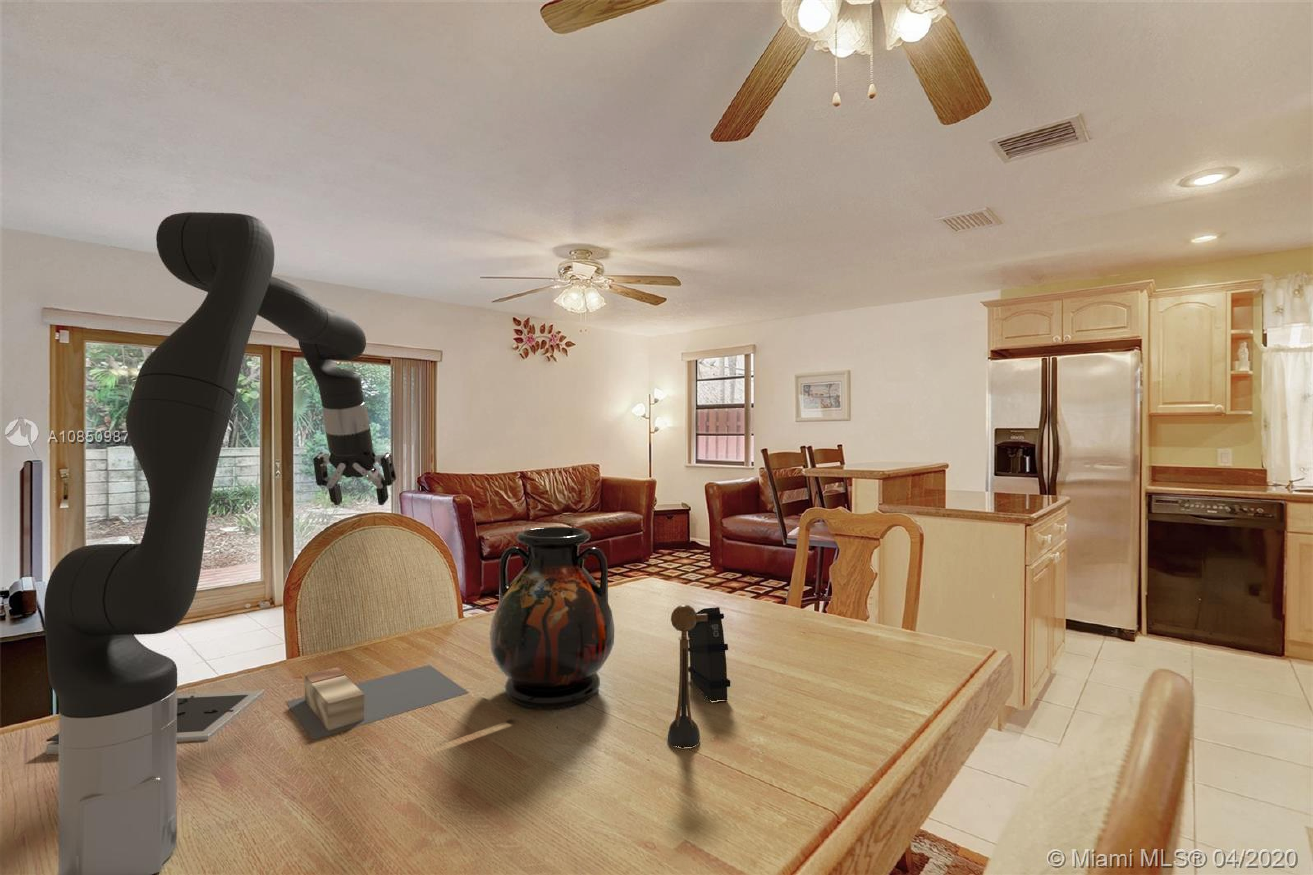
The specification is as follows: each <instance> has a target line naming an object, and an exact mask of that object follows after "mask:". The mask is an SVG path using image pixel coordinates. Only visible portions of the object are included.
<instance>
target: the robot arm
mask: <svg viewBox="0 0 1313 875" xmlns="http://www.w3.org/2000/svg"><path fill="white" fill-rule="evenodd" d="M155 237H156V238H155V240H156V249H157V252H158V256H159V258H160V260H161V262H162V263H163V265H164V266H165V268H166V270H167V271H168V272H169V273H170V274H172V275H173V276H174V277H175V279H177V280H178V281H181V282H183V283H185V284H187V285H189V286H191V287H193V288H196V289H197V290H198V289H199V290H201V291H204V292H206V293H207V295H206V296H205V298H204V300H203V302H202V303H201V305H200V306H199V308H197V310H196V311H195V312H194V313H193V314H192V315H191V316H190V317H189V318H188V319H187V320H186V321H185V322H184V323H182V325H180V326H179V327H178V328H177V329H176V330H174V331H173V332H172V333H171V334H170V335H168V336H167V337H166V338H165V339H164V340H163V341H162V342H161V343H160V344H159V345H158V346H157V347H156V348H155V349H154V350H153V351H152V352H150V354H149V355H148V357H147V358H146V359H145V360H144V361H143V363H142V365H141V367H140V368H139V372H138V375H137V377H136V380H135V383H134V387H133V390H132V394H131V397H130V400H129V404H128V406H127V410H126V416H125V429H126V433H127V437H128V439H129V442H130V445H131V447H132V450H133V452H134V454H135V456H136V459H137V461H138V463H139V466H140V467H141V470H142V472H143V474H144V477H145V480H146V482H147V483H146V484H147V487H148V493H149V506H148V513H147V518H146V524H145V527H144V531H143V535H142V537H141V541H140V543H100V544H99V543H97V544H89V545H85V546H80V547H78V548H76V549H73V550H72V551H70V552H69V553H67V554H65V556H64V557H62V558H61V559H60V560H59V561H58V563H57V564H56V566H55V567H54V568H53V571H52V572H51V574H50V575H49V576H50V577H49V579H48V581H47V584H46V589H45V594H44V595H45V596H44V601H43V602H44V604H43V606H44V607H43V616H44V632H45V633H44V635H45V643H46V644H45V645H46V662H47V675H48V680H49V684H50V686H51V688H52V690H53V692H54V693H55V695H56V697H57V698H58V699H57V700H58V733H59V755H58V782H57V783H58V787H57V788H58V792H57V793H58V794H57V795H58V796H57V797H58V801H57V802H58V808H57V809H58V811H57V812H58V813H57V814H58V815H57V816H58V818H57V819H58V821H57V822H58V825H57V826H58V827H57V831H58V833H57V837H58V838H57V844H58V847H57V848H58V861H57V862H58V870H57V871H58V872H57V873H58V875H154V874H157V873H159V872H161V871H163V864H164V863H165V862H166V861H167V860H168V859H169V858H170V857H171V856H172V855H173V854H174V852H175V850H176V848H177V844H178V841H177V840H178V839H177V838H178V832H177V831H178V830H177V829H178V826H177V825H178V824H177V823H178V821H177V820H178V806H177V803H178V802H177V800H178V799H177V797H178V795H177V793H178V786H177V781H178V780H177V779H178V778H177V777H178V770H177V769H178V767H177V766H178V764H177V763H178V762H177V761H178V755H177V754H178V753H177V752H178V742H177V694H178V666H177V664H176V662H175V661H174V660H173V659H172V658H171V657H168V656H166V655H164V654H162V653H159V652H157V651H155V650H152V649H150V648H148V647H146V646H145V645H144V644H143V643H141V642H140V641H139V639H137V637H136V636H135V635H140V636H141V635H158V634H163V633H166V632H168V631H171V630H172V629H174V628H175V627H176V626H178V625H179V624H180V623H181V621H182V620H183V619H184V617H186V615H188V613H189V611H190V610H189V609H190V608H191V606H192V604H193V601H194V599H195V596H196V592H197V589H198V585H199V582H200V577H201V576H200V575H201V569H202V565H203V564H202V563H203V555H204V546H205V540H206V539H205V538H206V531H207V523H208V516H209V510H210V503H211V502H210V501H211V496H212V492H213V486H214V481H215V477H216V472H217V467H218V463H219V459H220V455H221V452H222V451H221V450H222V446H223V442H224V440H225V436H226V432H227V430H228V425H229V422H230V419H231V414H232V411H233V407H234V403H235V397H236V392H237V389H238V381H239V377H240V372H241V369H242V365H243V363H244V362H243V361H244V358H245V353H246V350H247V346H248V342H249V340H250V339H249V338H250V336H251V333H252V330H253V328H254V324H255V321H256V319H257V316H259V317H261V318H263V319H264V320H265V321H268V322H270V323H271V324H272V325H274V326H275V327H277V328H279V329H280V330H282V331H283V332H285V333H286V334H288V335H289V336H291V337H292V338H293V339H295V340H297V342H298V345H299V350H300V351H301V353H302V356H303V358H304V360H305V361H306V363H307V365H308V367H309V369H310V371H311V373H312V376H313V377H314V379H315V381H316V383H317V386H318V390H319V395H320V402H321V405H322V419H323V425H324V430H325V431H324V432H325V437H326V442H327V448H328V451H329V454H325V452H320V453H318V454H317V455H316V456H314V458H313V460H312V461H313V466H314V468H313V469H314V475H315V483H316V486H319V487H321V486H323V487H325V488H327V489H328V494H329V499H330V502H331V503H333V506H340V504H341V503H342V502H343V495H342V491H341V484H340V483H339V481H340V480H341V479H342V477H345V478H348V479H349V478H353V477H354V478H358V479H359V478H361V479H362V478H363V477H364V478H365V479H366V480H367V481H368V482H371V483H372V484H373V485H374V486H375V487H376V489H375V491H376V497H377V503H378V506H384V505H385V504H386V502H387V501H388V499H389V493H388V487H390V486H392V484H393V483H394V482H395V481H396V480H397V474H396V471H395V467H394V462H393V457H392V453H390V452H386V453H385V454H375V452H374V446H373V439H372V433H371V426H370V423H371V422H370V418H369V415H368V414H369V413H368V410H367V408H366V407H367V406H366V403H365V398H364V392H363V385H362V380H361V377H360V375H359V374H358V373H357V372H356V371H353V370H348V369H345V368H342V367H339V366H338V365H337V364H336V363H335V362H334V361H337V360H340V361H341V360H342V361H350V360H351V361H352V360H355V359H357V358H359V357H361V355H362V354H363V353H364V352H365V350H366V346H367V339H366V335H365V332H364V330H363V329H362V327H361V326H360V324H358V323H357V322H356V321H355V320H353V319H352V318H350V317H349V316H347V315H345V314H343V313H340V312H338V311H335V310H333V309H330V308H328V307H325V306H324V305H323V304H322V303H320V302H319V301H318V300H317V299H316V298H315V297H313V296H312V295H311V294H310V293H308V292H307V291H305V290H304V289H302V288H301V287H298V286H296V285H294V284H293V283H290V282H288V281H285V280H282V279H280V278H278V277H275V276H272V274H273V270H274V265H275V244H274V241H273V237H272V234H271V232H270V229H269V228H268V227H267V226H266V224H265V223H264V222H262V220H261V219H259V218H257V217H256V216H253V215H249V214H242V213H236V212H234V213H233V212H205V211H204V212H197V211H193V212H192V211H189V212H188V211H187V212H179V213H173V214H170V215H168V216H167V217H165V218H163V220H161V222H160V223H159V225H158V228H157V230H156V235H155ZM329 463H330V464H331V466H332V467H334V469H335V470H334V472H333V473H332V475H331V476H330V477H329V473H328V472H329V471H328V465H329ZM375 463H378V465H379V467H381V469H382V473H383V474H382V473H381V470H380V469H379V467H377V466H376V465H375Z"/></svg>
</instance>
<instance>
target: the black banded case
mask: <svg viewBox="0 0 1313 875" xmlns="http://www.w3.org/2000/svg"><path fill="white" fill-rule="evenodd" d="M696 614H707V616H708V621H702V622H696V625H695V626H694V628H693V629H692V630H689V631H687V637H689V638H690V639H689V640H688V653H689V666H688V673H689V679H690V680H692V681H691V682H692V683H693V682H694V683H693V684H694V685H695V686H696V687H697V689H700V690H701V691H702V692H703V693H702V692H701V691H700V690H699V691H700V692H701V693H702V694H703V695H704V696H705V697H706V696H707V698H708V699H709V700H711V701H717V700H727V701H728V688H730V687H731V680H730V679H729V678H728V669H727V665H728V664H727V655H726V651H728V650H729V645H728V643H725V634H724V627H723V622H722V620H723V619H725V616H724V613H721V609H720V606H718V607H717V606H716V607H715V606H714V607H708V608H707V607H706V608H702V609H700V610H698V611H697V612H696ZM707 698H706V699H707ZM708 699H707V700H708ZM709 700H708V701H709Z"/></svg>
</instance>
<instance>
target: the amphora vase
mask: <svg viewBox="0 0 1313 875" xmlns="http://www.w3.org/2000/svg"><path fill="white" fill-rule="evenodd" d="M515 539H516V541H518V543H520V544H521V545H525V546H526V548H527V549H526V550H527V551H526V550H524V549H523V548H522V547H521V546H514V545H513V546H509V547H508V548H506V549H505V550H504V552H503V554H502V556H501V558H500V559H499V560H500V561H499V569H498V570H499V574H498V578H499V581H498V582H499V590H498V594H499V595H498V599H499V600H498V604H497V607H496V609H495V612H494V614H493V616H492V619H491V625H490V631H489V641H490V642H489V643H490V644H489V646H490V650H491V654H492V657H493V659H494V662H495V664H496V665H497V667H498V668H499V669H500V671H501V672H502V673H503V674H504V675H505V676H506V677H508V678H507V680H506V681H505V685H504V692H505V694H506V696H507V697H508V698H509V699H510V700H512V701H513V702H514V703H515V704H518V705H521V706H525V707H527V708H531V709H532V708H533V709H543V710H545V709H559V708H566V707H570V706H575V705H577V704H579V703H582V702H584V701H587V700H589V699H590V698H591V697H592V696H594V695H595V694H596V692H597V691H598V689H599V688H600V685H601V678H600V676H599V674H598V671H600V669H602V667H603V665H604V664H605V663H606V661H607V660H608V659H609V656H610V655H611V653H612V650H613V647H614V644H615V624H614V616H613V612H612V609H611V607H610V604H609V579H608V578H609V577H608V574H609V573H608V563H607V560H608V559H607V557H606V556H605V554H604V552H603V550H602V549H600V548H598V547H597V546H596V547H595V546H591V547H587V548H585V549H584V550H582V551H581V552H580V553H579V551H580V546H581V545H582V544H584V543H586V542H587V541H589V540H590V539H591V534H590V532H589V531H587V530H586V529H582V528H576V527H566V526H565V527H560V526H559V527H557V526H556V527H554V526H553V527H540V528H539V527H537V528H531V529H526V530H522V531H521V532H519V533H517V535H516V536H515ZM513 554H515V555H518V556H519V558H521V560H522V565H523V566H522V568H523V569H522V570H521V571H520V572H519V573H518V575H517V576H516V577H514V579H513V580H512V581H511V582H510V583H509V580H508V566H509V559H510V557H511V555H513ZM589 555H594V556H595V557H596V558H597V560H598V562H599V567H600V582H599V584H600V585H599V584H598V582H597V581H596V580H595V579H594V577H593V576H592V575H591V574H590V573H589V571H587V569H586V568H585V567H584V564H585V558H586V557H587V556H589Z"/></svg>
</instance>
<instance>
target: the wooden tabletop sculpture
mask: <svg viewBox="0 0 1313 875" xmlns="http://www.w3.org/2000/svg"><path fill="white" fill-rule="evenodd" d="M696 613H697V612H696V610H695V609H694V608H693V607H692V606H691V605H688V604H681V605H678V606H677V607H675V608H674V609H673V611H672V613H671V614H670V615H671V616H670V623H671V624H672V626H673V628H674V629H675V630H676V631H679V632H680V633H681V635H680V637H678V641H679V676H678V677H679V682H678V697H677V706H676V713H675V718H674V719H673V721H672V722H671V723H670V725H669V729H668V733H667V743H668V742H669V743H670V744H671V745H672V746H677V747H678V746H679V747H681V748H684V747H693V746H695V745H697V744H698V743H699V744H700V742H699V740H700V741H701V737H700V736H701V735H700V729H699V726H698V724H697V723H696V722H695V721H694V719H692V714H691V712H692V711H691V703H690V701H691V700H690V687H689V686H690V685H689V684H690V682H689V681H690V680H689V679H690V676H689V671H688V667H689V651H688V648H689V639H690V638H689V637H688V632H687V631H689V630H692V629H693V628H694V626H695V625H696V622H702V621H708V616H707V614H696ZM669 743H668V744H669ZM670 744H669V745H670ZM671 745H670V746H671ZM672 746H671V747H672ZM697 746H698V745H697Z"/></svg>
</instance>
